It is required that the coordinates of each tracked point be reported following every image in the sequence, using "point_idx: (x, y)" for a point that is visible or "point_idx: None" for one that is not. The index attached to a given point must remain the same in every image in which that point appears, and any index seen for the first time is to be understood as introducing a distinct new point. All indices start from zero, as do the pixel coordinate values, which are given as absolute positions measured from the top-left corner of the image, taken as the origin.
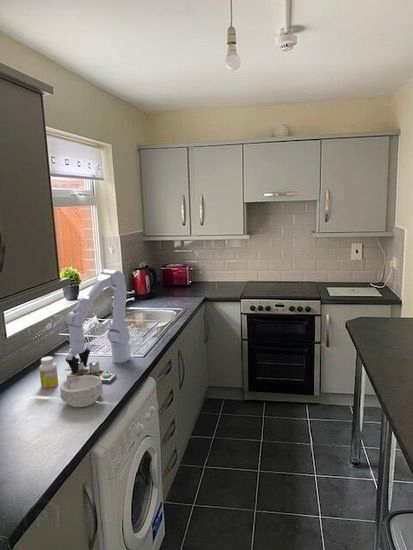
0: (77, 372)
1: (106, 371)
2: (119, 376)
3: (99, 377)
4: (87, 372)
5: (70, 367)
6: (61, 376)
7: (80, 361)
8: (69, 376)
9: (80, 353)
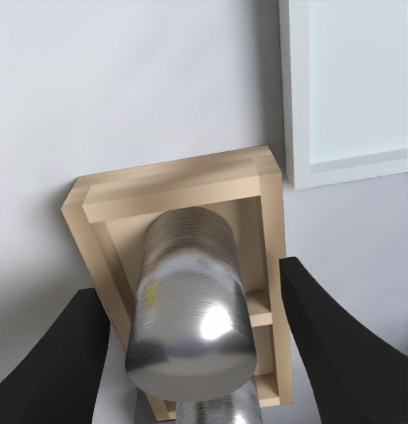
0: (105, 331)
1: (274, 402)
2: (285, 408)
3: (166, 417)
4: None
5: (33, 351)
6: (134, 22)
7: (222, 370)
8: (75, 230)
9: (345, 422)
